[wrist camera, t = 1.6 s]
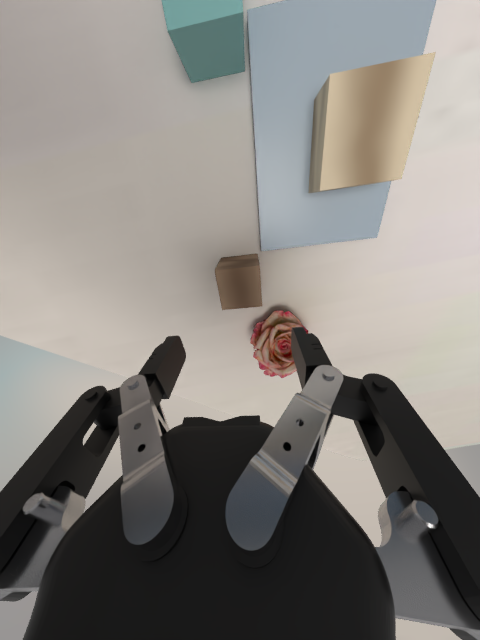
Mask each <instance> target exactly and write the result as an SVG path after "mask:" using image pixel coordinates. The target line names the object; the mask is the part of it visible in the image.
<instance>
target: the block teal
mask: <svg viewBox="0 0 480 640" xmlns="http://www.w3.org/2000/svg"><path fill="white" fill-rule="evenodd" d="M162 5H163V10H164V15H165V20H166V25H167V30H168V33H169V35H170V37H171V39H172V41H173V44H174V46H175V48H176V50H177V52H178V54H179V57H180V59H181V61H182V63H183V65H184V67H185V70H186V72H187V74H188V76H189V78H190V80H191V83H193V82H198V81H203V80H207V79H212V78H216V77H221V76H226V75H230V74H235V73H239V72H244V71H245V61H244V27H243V3H242V0H162Z"/></svg>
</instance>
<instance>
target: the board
mask: <svg viewBox="0 0 480 640" xmlns="http://www.w3.org/2000/svg"><path fill="white" fill-rule="evenodd" d="M435 3H436V0H285V1H281V2H277V3H273V4H269V5H265V6H261V7H257V8H253V9H249V10H247V20H248V40H249V57H250V74H251V90H252V107H253V124H254V141H255V158H256V175H257V192H258V209H259V226H260V243H261V251H268V250H276V249H285V248H293V247H301V246H310V245H318V244H327V243H335V242H344V241H352V240H361V239H369V238H377V236H378V232H379V228H380V224H381V220H382V216H383V212H384V208H385V204H386V200H387V196H388V192H389V188H390V184H391V181H387V182H382V183H376V184H369V185H362V186H356V187H349V188H342V189H335V190H328V191H321V192H314V193H308V192H309V176H310V159H311V143H312V127H313V110H314V99H315V98H316V96H317V94H318V93H319V91H320V90H321V88H322V86H323V85H324V83H325V81H326V80H327V78H328V76H329V75H330V74H332V73H337V72H342V71H347V70H352V69H356V68H361V67H366V66H371V65H376V64H381V63H386V62H390V61H395V60H400V59H405V58H410V57H415V56H420V55H423V52H424V48H425V44H426V40H427V36H428V32H429V27H430V23H431V19H432V15H433V11H434V7H435Z"/></svg>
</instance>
